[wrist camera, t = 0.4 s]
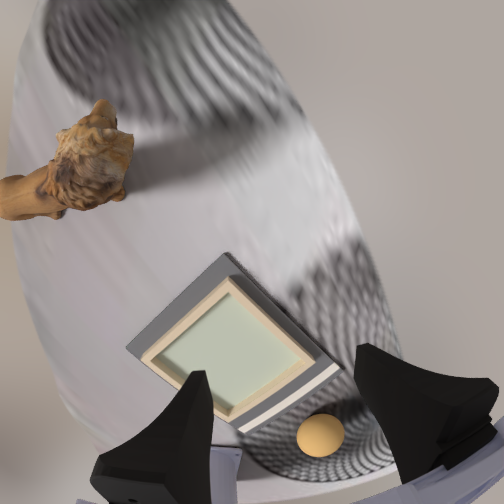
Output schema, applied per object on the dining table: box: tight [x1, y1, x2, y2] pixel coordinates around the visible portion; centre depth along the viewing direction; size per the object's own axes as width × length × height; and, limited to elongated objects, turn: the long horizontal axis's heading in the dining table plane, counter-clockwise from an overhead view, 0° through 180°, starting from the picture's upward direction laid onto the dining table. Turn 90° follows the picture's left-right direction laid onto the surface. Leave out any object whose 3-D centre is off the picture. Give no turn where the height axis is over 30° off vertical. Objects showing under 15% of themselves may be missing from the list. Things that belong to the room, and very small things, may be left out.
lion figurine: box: [0, 99, 134, 221], centre depth 14 cm, size 15×5×9 cm, turn 105°
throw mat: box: [126, 253, 344, 435], centre depth 22 cm, size 16×12×1 cm
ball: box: [297, 414, 344, 457], centre depth 23 cm, size 5×5×5 cm
